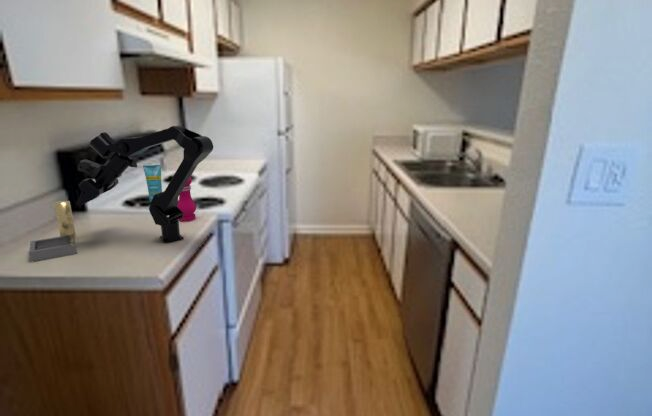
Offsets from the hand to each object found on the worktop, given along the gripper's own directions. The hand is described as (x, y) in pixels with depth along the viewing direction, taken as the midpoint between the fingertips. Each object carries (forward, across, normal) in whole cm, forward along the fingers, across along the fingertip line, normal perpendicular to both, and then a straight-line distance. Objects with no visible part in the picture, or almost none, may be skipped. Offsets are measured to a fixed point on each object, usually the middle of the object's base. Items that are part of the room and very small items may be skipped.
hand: (83, 201), depth 128 cm
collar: (+13, +12, +5) cm, 18 cm away
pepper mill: (-12, -17, +30) cm, 36 cm away
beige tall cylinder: (+14, 0, +4) cm, 14 cm away
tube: (0, -37, +19) cm, 41 cm away
